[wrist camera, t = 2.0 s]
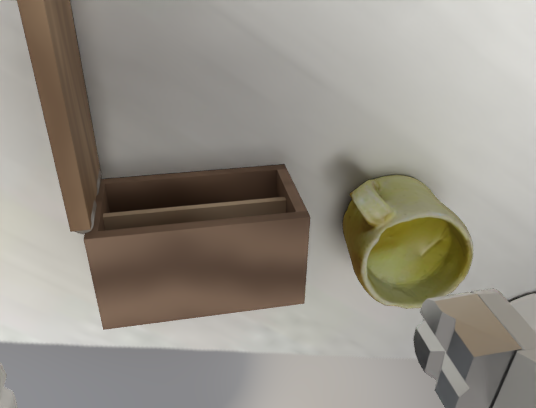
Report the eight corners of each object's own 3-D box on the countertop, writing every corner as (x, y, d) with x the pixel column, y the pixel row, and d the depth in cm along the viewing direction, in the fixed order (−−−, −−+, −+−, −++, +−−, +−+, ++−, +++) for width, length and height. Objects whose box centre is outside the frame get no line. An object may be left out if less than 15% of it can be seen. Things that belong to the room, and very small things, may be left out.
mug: (472, 233, 48) (493, 304, 39) (367, 263, 51) (366, 333, 43) (429, 118, 43) (444, 169, 34) (318, 159, 47) (306, 215, 38)
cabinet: (281, 243, 46) (304, 303, 39) (110, 261, 43) (103, 329, 37) (284, 164, 42) (310, 216, 35) (94, 179, 39) (83, 239, 33)
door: (62, -50, 31) (39, -32, 24) (103, 178, 39) (94, 238, 32) (18, -50, 30) (-18, -32, 24) (69, 181, 39) (52, 242, 32)
